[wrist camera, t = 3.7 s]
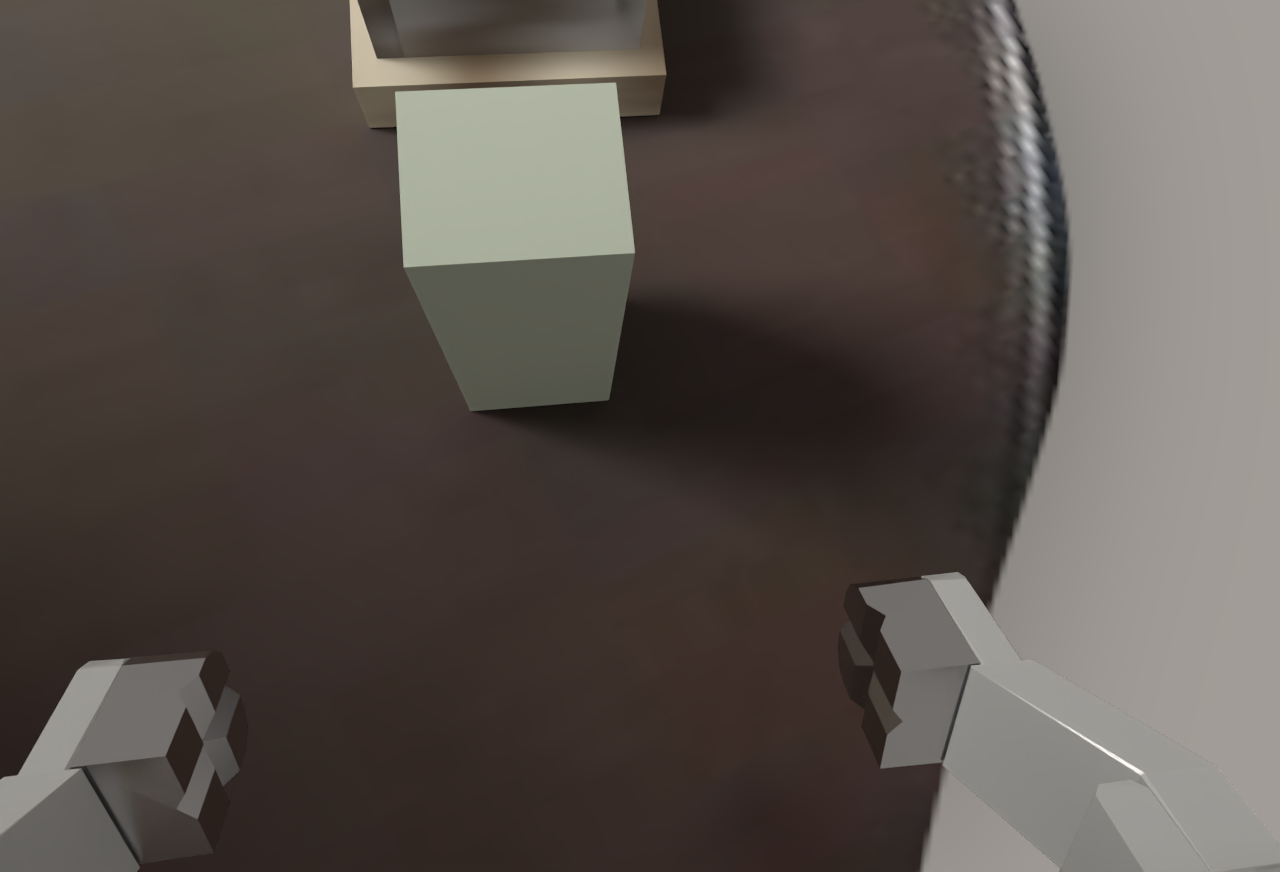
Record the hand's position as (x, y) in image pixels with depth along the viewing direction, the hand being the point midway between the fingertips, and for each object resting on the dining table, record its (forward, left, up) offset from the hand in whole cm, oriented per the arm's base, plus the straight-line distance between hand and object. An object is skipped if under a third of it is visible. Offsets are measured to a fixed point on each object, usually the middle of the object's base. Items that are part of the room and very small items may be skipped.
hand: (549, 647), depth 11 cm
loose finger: (0, +8, -12) cm, 15 cm away
